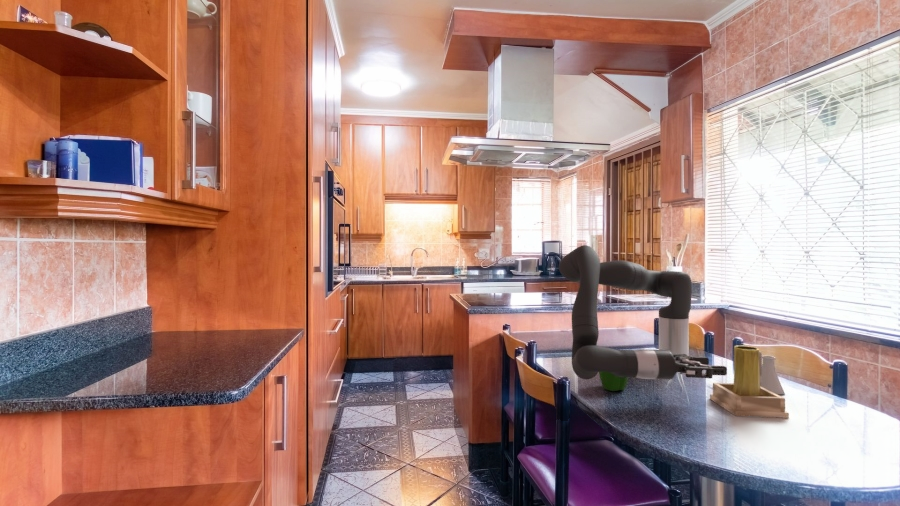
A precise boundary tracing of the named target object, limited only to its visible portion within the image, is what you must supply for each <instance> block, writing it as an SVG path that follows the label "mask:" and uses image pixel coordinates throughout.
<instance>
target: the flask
mask: <svg viewBox="0 0 900 506" xmlns="http://www.w3.org/2000/svg"><path fill="white" fill-rule="evenodd" d="M776 359H777V357H775V356H773V355H766V354H765V355H762V387H763V388H765V389H767V390H769V391H771V392H773V393H775V394H777V395H779V396H780V395H785V394H786V393H785V391H784V389H783V386H782V384H781V381H780V379H779V377H778V373H777V371H776V365H775V361H776Z"/></svg>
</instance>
